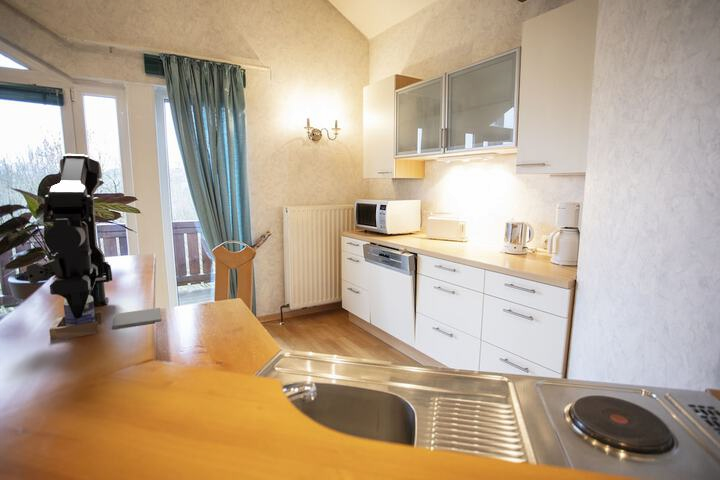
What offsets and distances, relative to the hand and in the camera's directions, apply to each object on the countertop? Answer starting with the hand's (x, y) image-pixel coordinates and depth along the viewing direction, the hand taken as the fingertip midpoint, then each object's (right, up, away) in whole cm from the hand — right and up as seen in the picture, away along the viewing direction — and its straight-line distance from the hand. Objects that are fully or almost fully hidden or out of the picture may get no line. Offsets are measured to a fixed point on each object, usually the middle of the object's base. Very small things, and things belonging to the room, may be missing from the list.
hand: (80, 314), depth 83 cm
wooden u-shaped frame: (0, -4, 0) cm, 4 cm away
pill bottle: (0, -4, 0) cm, 4 cm away
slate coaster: (+9, -3, +8) cm, 12 cm away
